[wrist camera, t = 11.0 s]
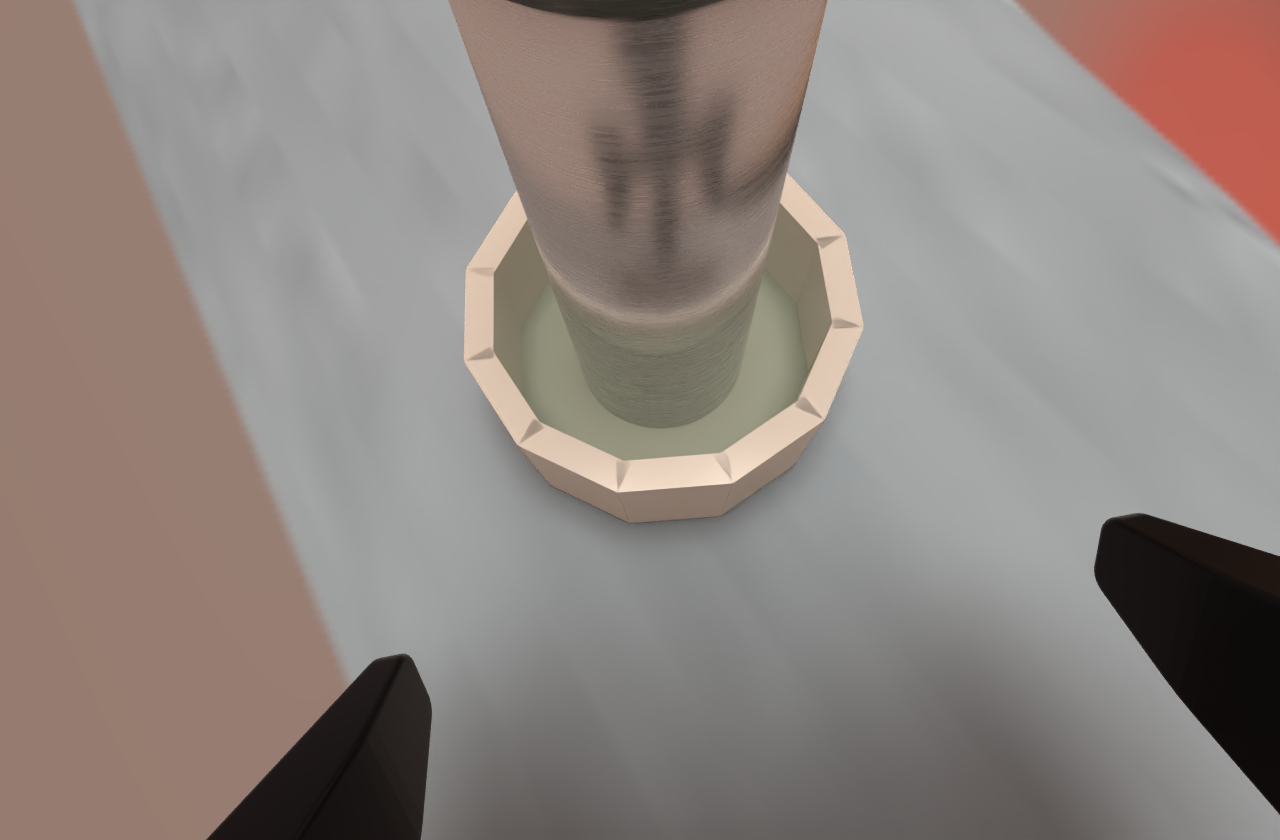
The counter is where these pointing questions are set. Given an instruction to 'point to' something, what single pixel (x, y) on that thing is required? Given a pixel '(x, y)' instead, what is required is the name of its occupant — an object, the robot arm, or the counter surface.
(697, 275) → the canister
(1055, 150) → the counter surface
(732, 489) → the bowl
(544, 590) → the counter surface
